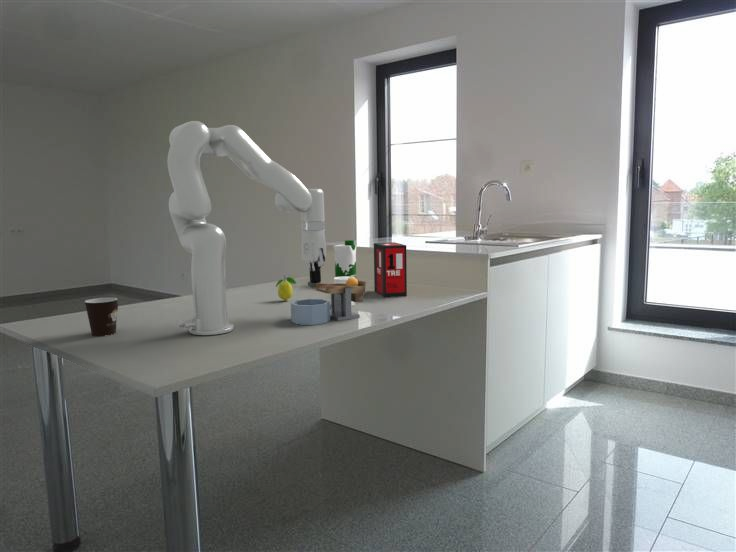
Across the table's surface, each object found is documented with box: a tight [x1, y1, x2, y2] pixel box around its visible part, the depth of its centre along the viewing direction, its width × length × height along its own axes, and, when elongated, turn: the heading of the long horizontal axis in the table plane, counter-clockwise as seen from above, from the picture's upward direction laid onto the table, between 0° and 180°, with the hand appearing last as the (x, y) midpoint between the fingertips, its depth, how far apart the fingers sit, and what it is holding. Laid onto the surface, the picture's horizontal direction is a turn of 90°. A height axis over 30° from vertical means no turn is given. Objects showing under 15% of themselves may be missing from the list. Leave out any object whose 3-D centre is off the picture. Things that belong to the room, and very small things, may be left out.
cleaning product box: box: [373, 241, 408, 298], centre depth 224 cm, size 16×9×20 cm, turn 13°
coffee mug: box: [84, 297, 119, 337], centre depth 165 cm, size 12×9×10 cm
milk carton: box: [333, 239, 357, 279], centre depth 249 cm, size 9×9×20 cm
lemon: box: [275, 275, 297, 302], centre depth 212 cm, size 7×6×10 cm
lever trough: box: [307, 279, 367, 303], centre depth 184 cm, size 14×14×7 cm
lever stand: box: [330, 288, 360, 322], centre depth 182 cm, size 8×10×10 cm
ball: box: [346, 277, 359, 286], centre depth 183 cm, size 4×4×4 cm
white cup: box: [333, 276, 356, 307], centre depth 202 cm, size 8×8×10 cm
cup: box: [290, 298, 331, 326], centre depth 176 cm, size 11×11×6 cm
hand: (315, 282), depth 185 cm, fingers closed
